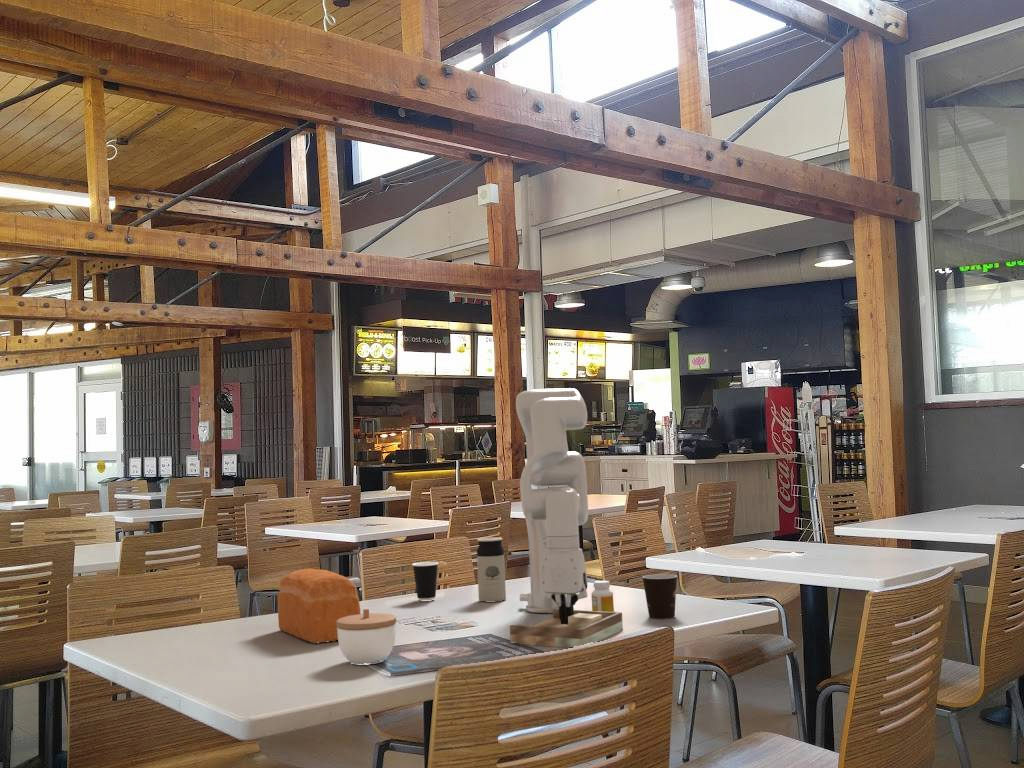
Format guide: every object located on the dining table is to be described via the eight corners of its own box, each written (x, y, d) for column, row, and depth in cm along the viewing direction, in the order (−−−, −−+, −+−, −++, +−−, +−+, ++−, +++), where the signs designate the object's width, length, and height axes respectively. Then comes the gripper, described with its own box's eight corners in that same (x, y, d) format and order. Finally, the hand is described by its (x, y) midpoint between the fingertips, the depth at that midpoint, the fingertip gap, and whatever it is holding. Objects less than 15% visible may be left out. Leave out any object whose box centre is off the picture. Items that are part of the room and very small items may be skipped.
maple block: (568, 630, 212) (568, 616, 212) (579, 626, 216) (578, 613, 216) (591, 631, 208) (591, 618, 209) (602, 627, 213) (601, 614, 213)
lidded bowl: (402, 664, 193) (400, 610, 194) (340, 671, 189) (339, 616, 190) (392, 653, 205) (390, 602, 206) (334, 659, 201) (333, 607, 202)
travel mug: (481, 598, 277) (478, 537, 278) (507, 597, 276) (505, 536, 277) (476, 603, 269) (474, 540, 270) (503, 602, 268) (501, 539, 269)
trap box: (510, 643, 210) (509, 625, 210) (555, 625, 229) (554, 609, 229) (582, 648, 201) (581, 629, 201) (622, 629, 220) (621, 612, 220)
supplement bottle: (617, 619, 233) (615, 580, 234) (610, 623, 228) (608, 583, 229) (597, 618, 236) (595, 579, 236) (589, 622, 231) (587, 582, 231)
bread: (325, 623, 246) (324, 563, 248) (365, 637, 224) (363, 571, 225) (274, 630, 239) (273, 568, 240) (310, 646, 217) (308, 577, 218)
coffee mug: (669, 620, 228) (666, 579, 229) (638, 618, 234) (636, 578, 234) (690, 613, 238) (688, 573, 238) (660, 610, 243) (658, 572, 244)
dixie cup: (445, 599, 278) (443, 562, 279) (424, 603, 272) (423, 565, 273) (428, 597, 284) (427, 561, 284) (407, 601, 278) (406, 564, 279)
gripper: (527, 544, 217) (530, 624, 215) (585, 545, 209) (589, 628, 208) (542, 541, 223) (545, 619, 222) (599, 542, 216) (603, 622, 214)
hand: (566, 623), depth 215 cm, fingers closed
